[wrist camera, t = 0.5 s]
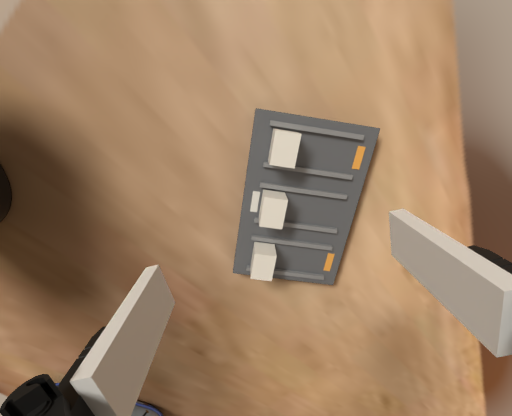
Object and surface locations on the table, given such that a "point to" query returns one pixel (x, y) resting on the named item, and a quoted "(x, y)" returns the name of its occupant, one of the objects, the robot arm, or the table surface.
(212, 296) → the table surface
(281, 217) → the switch middle
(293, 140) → the switch
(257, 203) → the switch panel
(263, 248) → the switch
